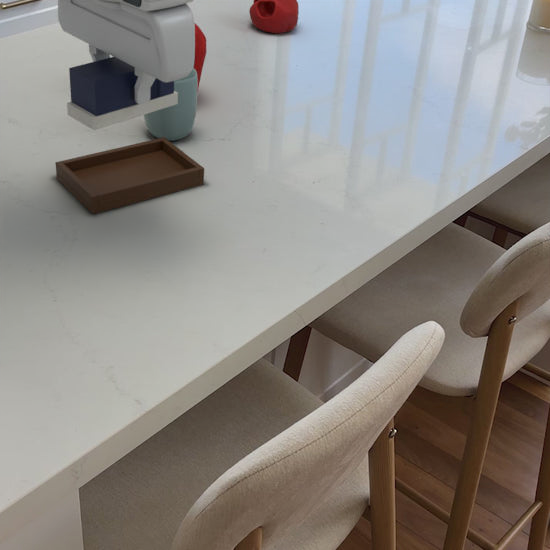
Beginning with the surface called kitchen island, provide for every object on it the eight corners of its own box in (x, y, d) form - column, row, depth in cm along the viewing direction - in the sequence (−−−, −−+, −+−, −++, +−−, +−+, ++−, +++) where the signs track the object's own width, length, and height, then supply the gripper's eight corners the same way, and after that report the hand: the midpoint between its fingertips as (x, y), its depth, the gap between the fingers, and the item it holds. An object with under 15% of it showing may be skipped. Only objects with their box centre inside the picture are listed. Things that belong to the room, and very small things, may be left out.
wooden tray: (93, 214, 112) (92, 197, 111) (56, 178, 119) (55, 162, 117) (203, 184, 121) (204, 168, 119) (163, 152, 127) (164, 137, 126)
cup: (204, 140, 132) (207, 76, 126) (158, 150, 128) (158, 85, 122) (179, 119, 137) (180, 57, 131) (133, 129, 133) (132, 65, 127)
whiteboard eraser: (93, 130, 97) (91, 83, 94) (67, 115, 100) (64, 68, 97) (177, 104, 105) (178, 59, 102) (151, 90, 107) (150, 46, 104)
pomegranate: (285, 18, 181) (289, -29, 176) (306, 34, 174) (311, -13, 168) (240, 21, 177) (243, -27, 172) (259, 38, 170) (263, -11, 165)
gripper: (39, -51, 97) (48, 69, 105) (158, 0, 86) (157, 130, 94) (87, -59, 101) (92, 58, 109) (206, -11, 90) (202, 115, 98)
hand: (123, 92), depth 101 cm, fingers closed on whiteboard eraser, 5 cm apart
